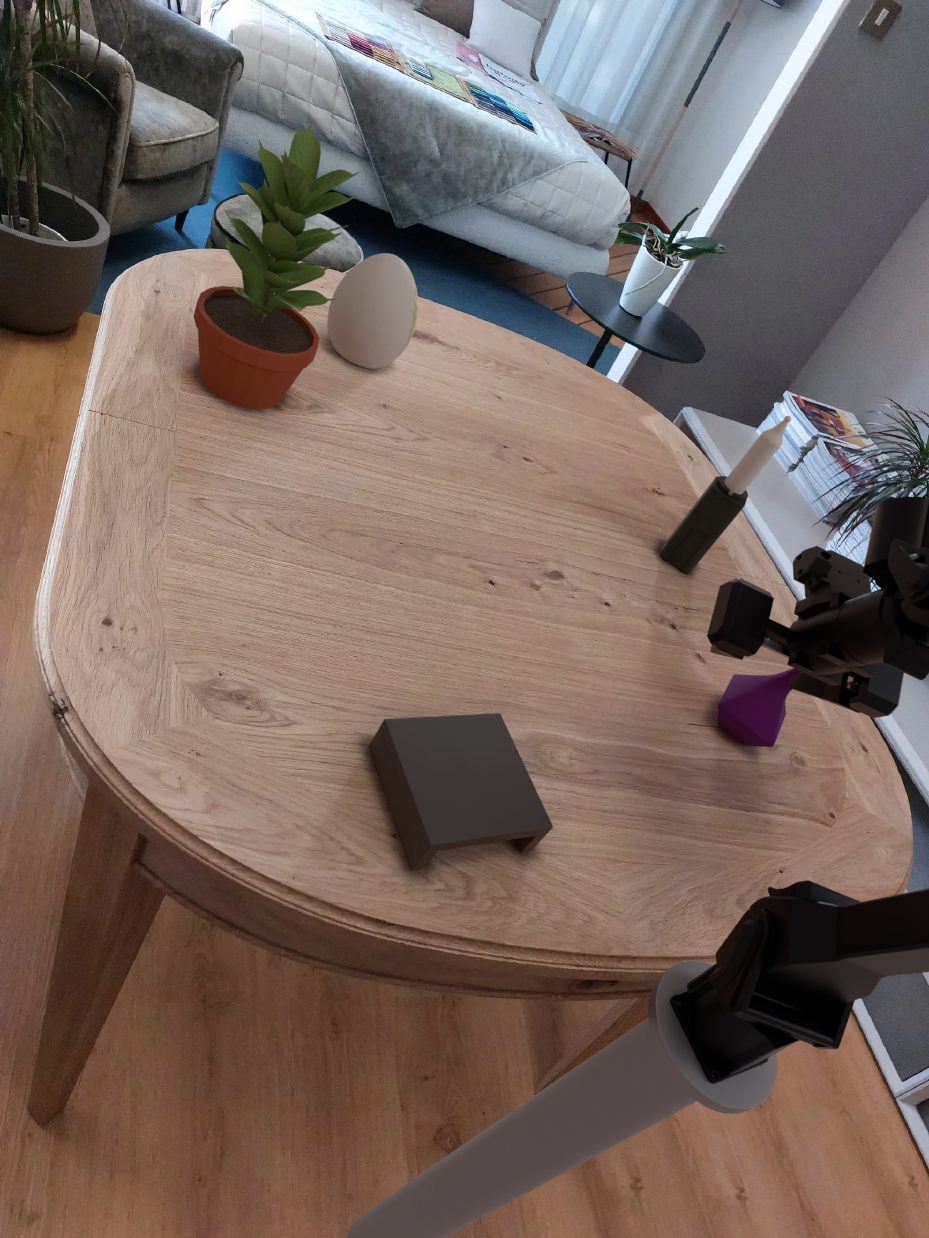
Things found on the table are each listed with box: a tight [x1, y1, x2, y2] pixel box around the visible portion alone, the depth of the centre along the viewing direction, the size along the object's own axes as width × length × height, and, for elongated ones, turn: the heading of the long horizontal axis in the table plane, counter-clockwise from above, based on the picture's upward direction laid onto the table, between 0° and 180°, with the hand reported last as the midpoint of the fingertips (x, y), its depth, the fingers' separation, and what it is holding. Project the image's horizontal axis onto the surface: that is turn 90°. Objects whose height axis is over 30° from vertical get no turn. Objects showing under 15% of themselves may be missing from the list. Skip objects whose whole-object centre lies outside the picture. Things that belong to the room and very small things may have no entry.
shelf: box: [368, 712, 554, 871], centre depth 72 cm, size 12×12×4 cm
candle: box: [659, 415, 792, 575], centre depth 113 cm, size 5×5×25 cm
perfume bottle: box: [716, 667, 802, 748], centre depth 93 cm, size 8×8×18 cm
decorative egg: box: [327, 252, 419, 370], centre depth 118 cm, size 12×12×15 cm
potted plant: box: [193, 122, 362, 410], centre depth 95 cm, size 15×15×30 cm
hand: (752, 665), depth 83 cm, fingers open, 9 cm apart
